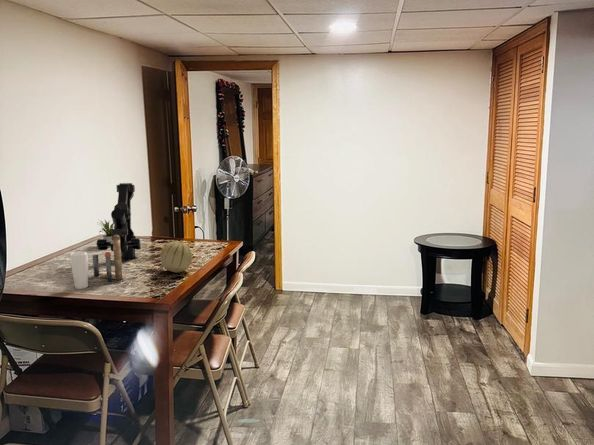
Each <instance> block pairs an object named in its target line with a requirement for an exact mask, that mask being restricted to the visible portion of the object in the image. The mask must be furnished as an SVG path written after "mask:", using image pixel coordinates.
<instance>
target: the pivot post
mask: <svg viewBox="0 0 594 445" xmlns="http://www.w3.org/2000/svg"><path fill="white" fill-rule="evenodd" d="M99 263H100V262H99V254H93V255H92V268H93V275H91V278H92V279H99V278H101V277H99V274H100V264H99Z"/></svg>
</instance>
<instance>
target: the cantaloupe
mask: <svg viewBox="0 0 594 445" xmlns="http://www.w3.org/2000/svg"><path fill="white" fill-rule="evenodd" d="M159 259H160V263H161V264H160V265H161V266H162V267H163V268H164V269H165V270H167V271H170V272H171V273H182V272H185V271H186V270H188V269H189V267H190V266H191V265H192V262H193V250H191V247H190V246H189V245H188V244H186V243H184V242H183V240H182V239H181V240H180V241H177V240H176V241H175V240H174V241H170V242H168V243H167V244H166V245H164V247H163V248H162V250H161V252H160V255H159Z"/></svg>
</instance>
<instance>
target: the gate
mask: <svg viewBox="0 0 594 445" xmlns="http://www.w3.org/2000/svg"><path fill="white" fill-rule="evenodd" d="M112 239H113V250H114V251H113V260H114V261H113V263H114V273H112V279H115V280H122V279H123V265H122V259H121V248H120V236H119V235H114V236H113V238H112ZM99 277H100V278H106V279H107V272H105V273H104V272H99Z"/></svg>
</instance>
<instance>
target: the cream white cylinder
mask: <svg viewBox="0 0 594 445" xmlns="http://www.w3.org/2000/svg"><path fill="white" fill-rule="evenodd" d="M69 257H70V267H71V272H72V277H73V282H74V283H73V285H74V288H75V289H77V290H82V289H87V288H88V286H89V257H88V252H87V251H74V252H71V253H70V256H69Z"/></svg>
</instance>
